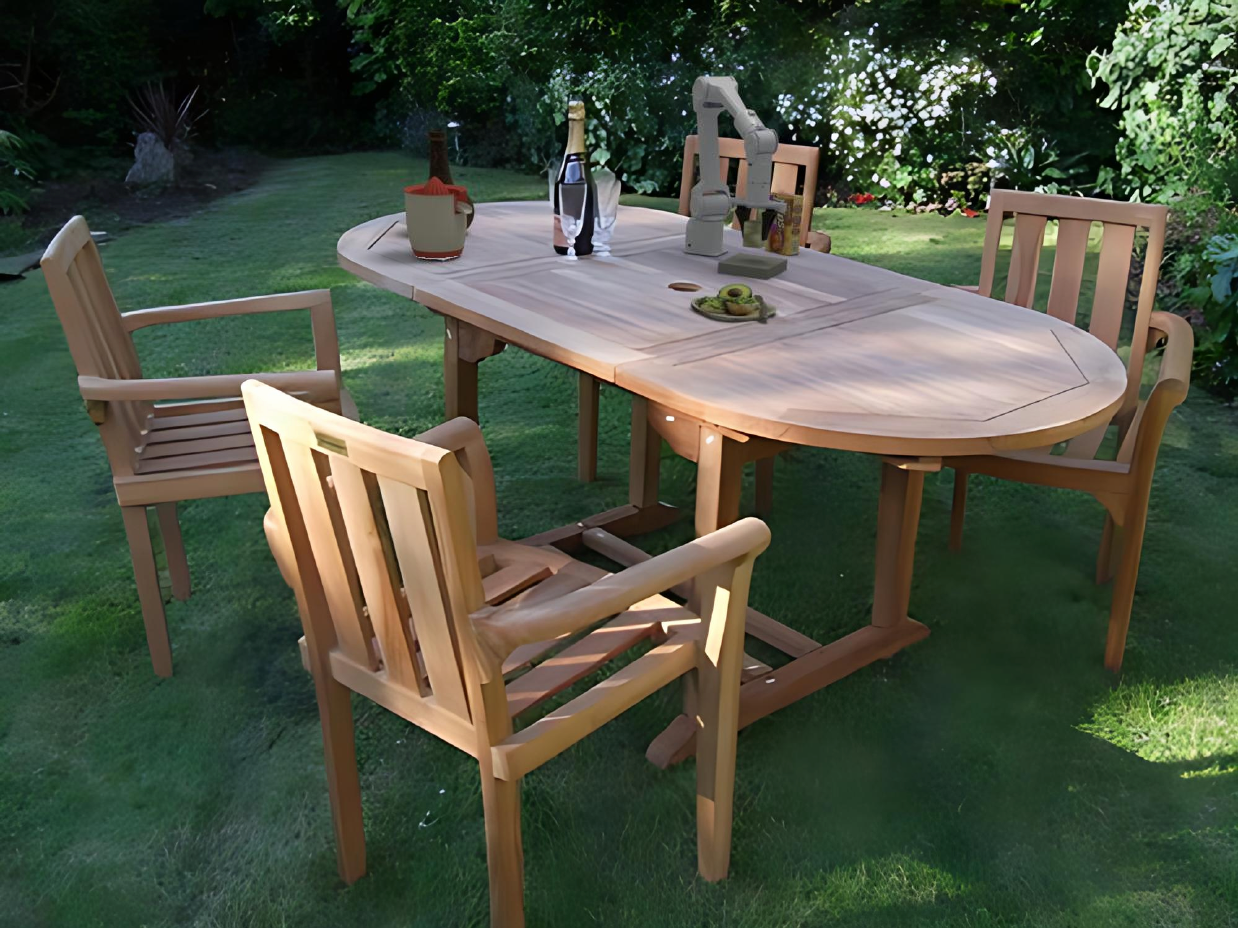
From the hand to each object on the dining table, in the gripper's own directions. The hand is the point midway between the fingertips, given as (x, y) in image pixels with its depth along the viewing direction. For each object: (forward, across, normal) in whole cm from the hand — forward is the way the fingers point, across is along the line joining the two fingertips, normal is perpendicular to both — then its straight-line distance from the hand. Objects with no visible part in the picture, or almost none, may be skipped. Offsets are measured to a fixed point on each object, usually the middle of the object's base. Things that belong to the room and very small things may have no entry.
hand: (754, 238), depth 272 cm
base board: (+8, 0, 0) cm, 8 cm away
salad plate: (+9, +11, -37) cm, 40 cm away
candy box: (+8, -2, +25) cm, 26 cm away
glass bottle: (+8, -90, -7) cm, 91 cm away
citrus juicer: (+8, -73, -30) cm, 79 cm away
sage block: (+2, 0, 0) cm, 2 cm away
